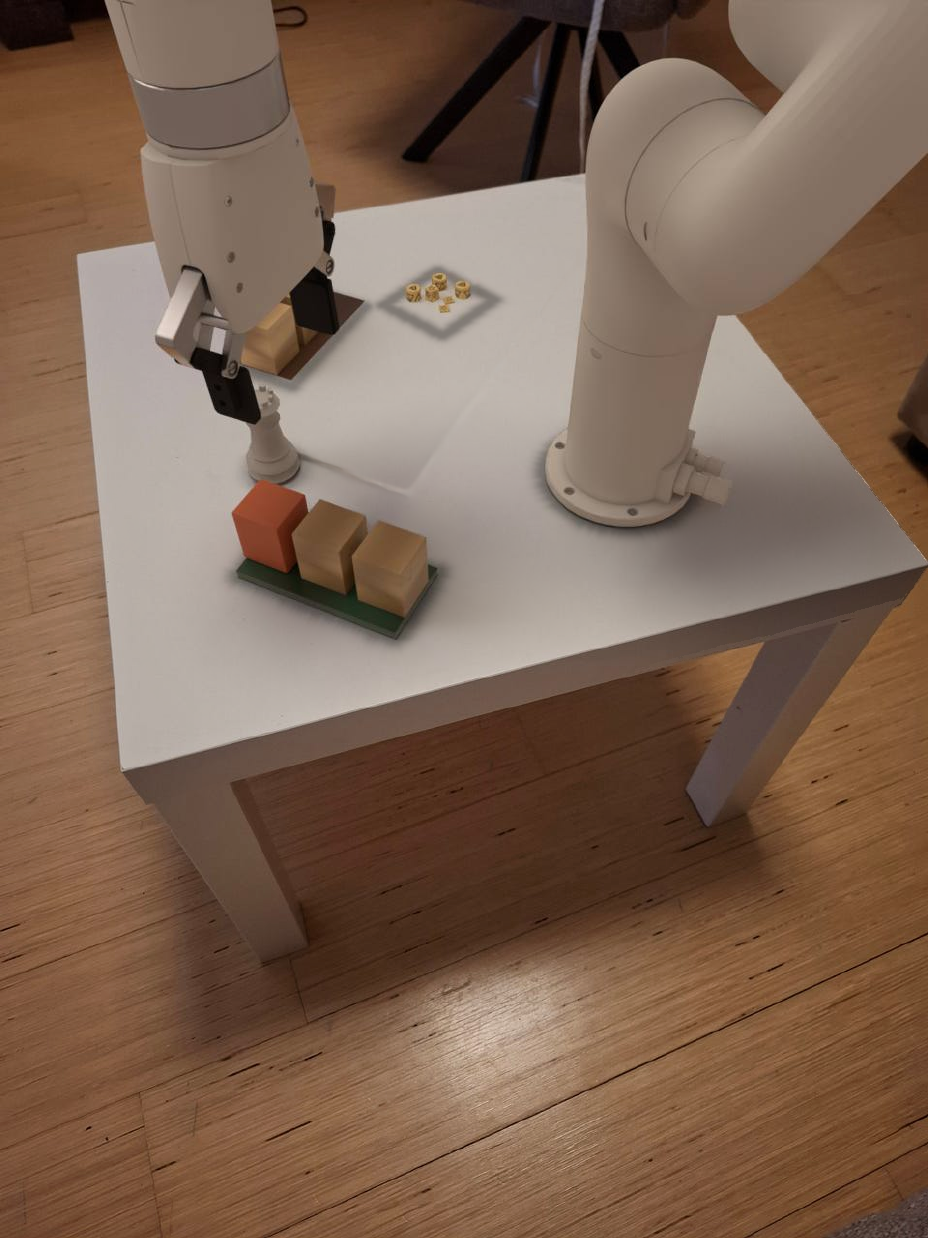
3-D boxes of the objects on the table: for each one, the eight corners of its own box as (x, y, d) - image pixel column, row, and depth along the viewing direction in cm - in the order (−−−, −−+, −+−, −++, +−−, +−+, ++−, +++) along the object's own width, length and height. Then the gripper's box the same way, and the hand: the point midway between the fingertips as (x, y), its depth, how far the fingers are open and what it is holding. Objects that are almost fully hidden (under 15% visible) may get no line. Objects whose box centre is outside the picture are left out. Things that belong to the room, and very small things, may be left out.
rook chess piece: (256, 493, 76) (237, 419, 70) (242, 459, 79) (222, 385, 73) (307, 478, 78) (292, 403, 71) (291, 445, 80) (276, 370, 74)
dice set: (403, 305, 93) (402, 288, 91) (437, 283, 95) (436, 266, 93) (440, 324, 91) (440, 307, 89) (473, 301, 93) (474, 284, 91)
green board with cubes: (438, 574, 71) (436, 523, 66) (395, 639, 67) (390, 590, 63) (285, 517, 75) (273, 465, 70) (237, 577, 71) (221, 526, 66)
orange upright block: (271, 523, 73) (260, 478, 69) (314, 539, 72) (305, 494, 68) (243, 557, 71) (230, 512, 67) (287, 574, 70) (276, 529, 66)
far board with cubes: (365, 307, 92) (360, 254, 88) (292, 387, 85) (282, 334, 80) (306, 290, 94) (298, 237, 90) (229, 366, 87) (216, 313, 82)
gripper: (245, 18, 52) (300, 286, 65) (40, 162, 42) (154, 438, 56) (360, 37, 49) (392, 310, 63) (171, 192, 40) (256, 472, 54)
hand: (280, 370), depth 60 cm, fingers open, 9 cm apart
